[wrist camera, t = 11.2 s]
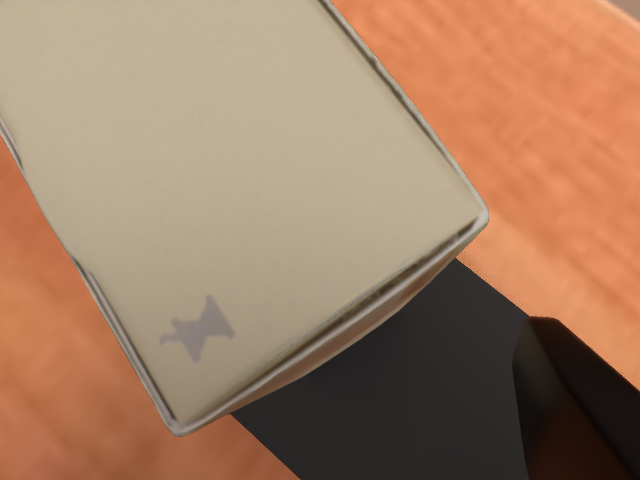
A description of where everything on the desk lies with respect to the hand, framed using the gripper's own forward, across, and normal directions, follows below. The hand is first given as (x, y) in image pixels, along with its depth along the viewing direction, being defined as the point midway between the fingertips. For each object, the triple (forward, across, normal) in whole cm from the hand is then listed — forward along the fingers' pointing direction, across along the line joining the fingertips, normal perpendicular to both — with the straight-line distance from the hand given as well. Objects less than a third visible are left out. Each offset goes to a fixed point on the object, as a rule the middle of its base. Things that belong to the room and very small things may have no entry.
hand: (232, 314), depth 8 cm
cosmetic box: (+8, 0, +5) cm, 10 cm away
